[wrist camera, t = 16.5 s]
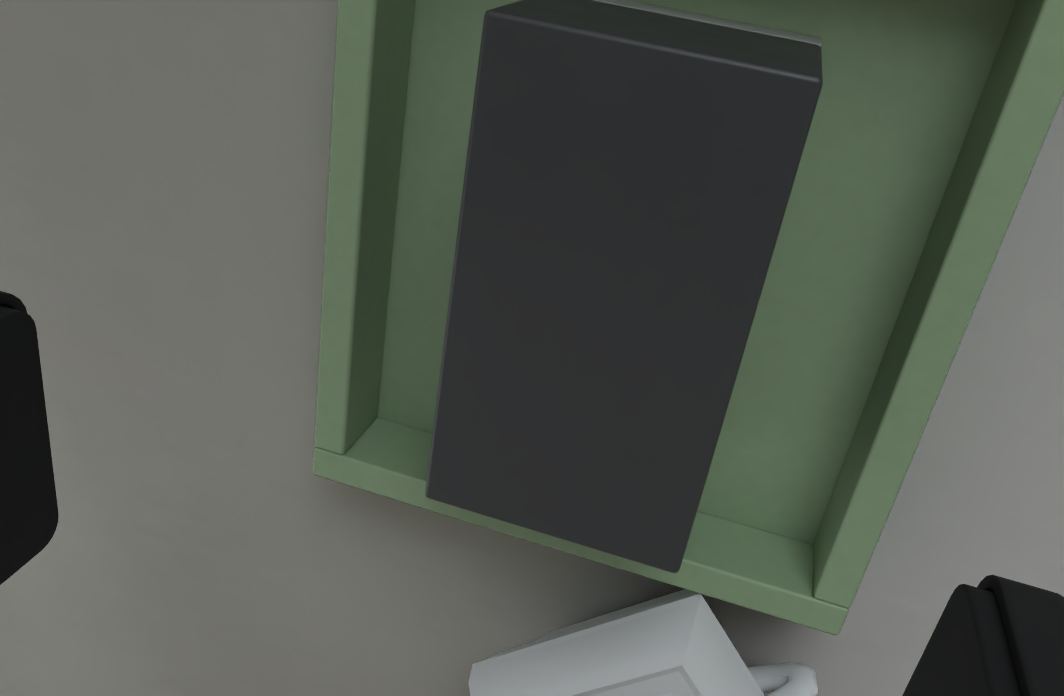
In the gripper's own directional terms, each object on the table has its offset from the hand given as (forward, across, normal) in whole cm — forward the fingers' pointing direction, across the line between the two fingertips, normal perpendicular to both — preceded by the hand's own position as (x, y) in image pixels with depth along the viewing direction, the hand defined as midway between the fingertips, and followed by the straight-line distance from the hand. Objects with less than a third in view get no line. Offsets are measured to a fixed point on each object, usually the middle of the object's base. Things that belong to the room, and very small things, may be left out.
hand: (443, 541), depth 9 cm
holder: (+12, 0, 0) cm, 12 cm away
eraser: (+12, 0, +1) cm, 12 cm away
